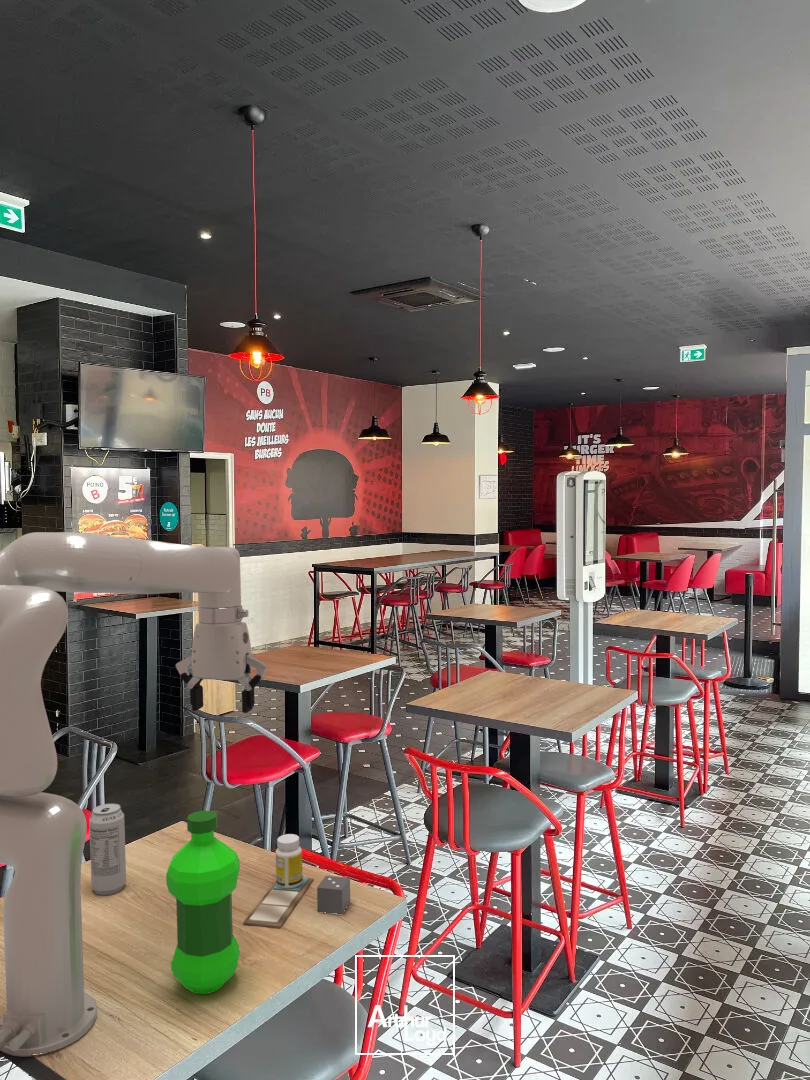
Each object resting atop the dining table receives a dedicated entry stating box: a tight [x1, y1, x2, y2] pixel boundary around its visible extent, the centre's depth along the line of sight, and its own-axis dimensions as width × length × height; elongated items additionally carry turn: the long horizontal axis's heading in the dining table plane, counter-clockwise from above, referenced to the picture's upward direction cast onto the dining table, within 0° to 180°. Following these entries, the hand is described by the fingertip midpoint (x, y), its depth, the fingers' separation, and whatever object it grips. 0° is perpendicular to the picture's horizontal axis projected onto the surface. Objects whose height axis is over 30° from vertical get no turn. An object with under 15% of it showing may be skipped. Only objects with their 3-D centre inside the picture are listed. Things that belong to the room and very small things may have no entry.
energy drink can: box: [88, 803, 127, 896], centre depth 147 cm, size 6×6×15 cm
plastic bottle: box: [165, 809, 241, 995], centre depth 116 cm, size 10×10×25 cm
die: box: [316, 875, 351, 915], centre depth 139 cm, size 4×4×5 cm
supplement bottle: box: [275, 833, 303, 889], centre depth 146 cm, size 5×5×8 cm
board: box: [243, 876, 315, 929], centre depth 141 cm, size 17×7×1 cm, turn 168°
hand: (222, 710), depth 144 cm, fingers open, 9 cm apart
